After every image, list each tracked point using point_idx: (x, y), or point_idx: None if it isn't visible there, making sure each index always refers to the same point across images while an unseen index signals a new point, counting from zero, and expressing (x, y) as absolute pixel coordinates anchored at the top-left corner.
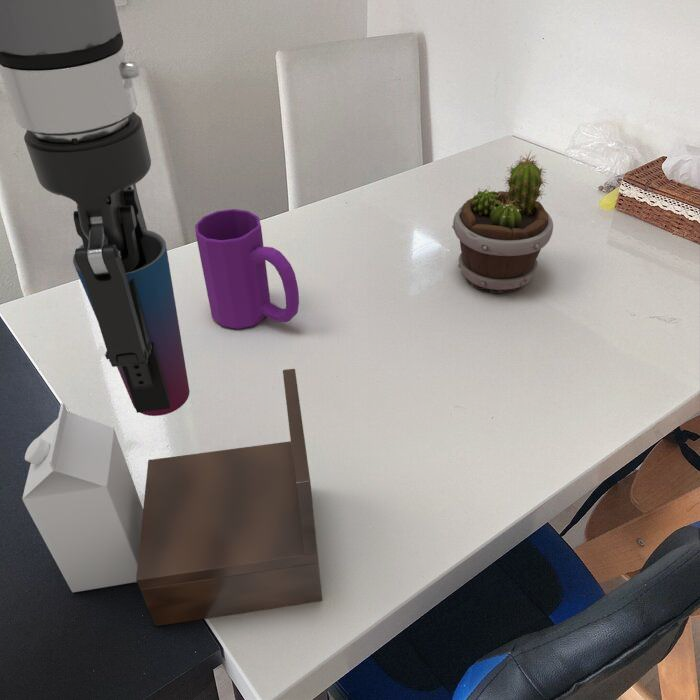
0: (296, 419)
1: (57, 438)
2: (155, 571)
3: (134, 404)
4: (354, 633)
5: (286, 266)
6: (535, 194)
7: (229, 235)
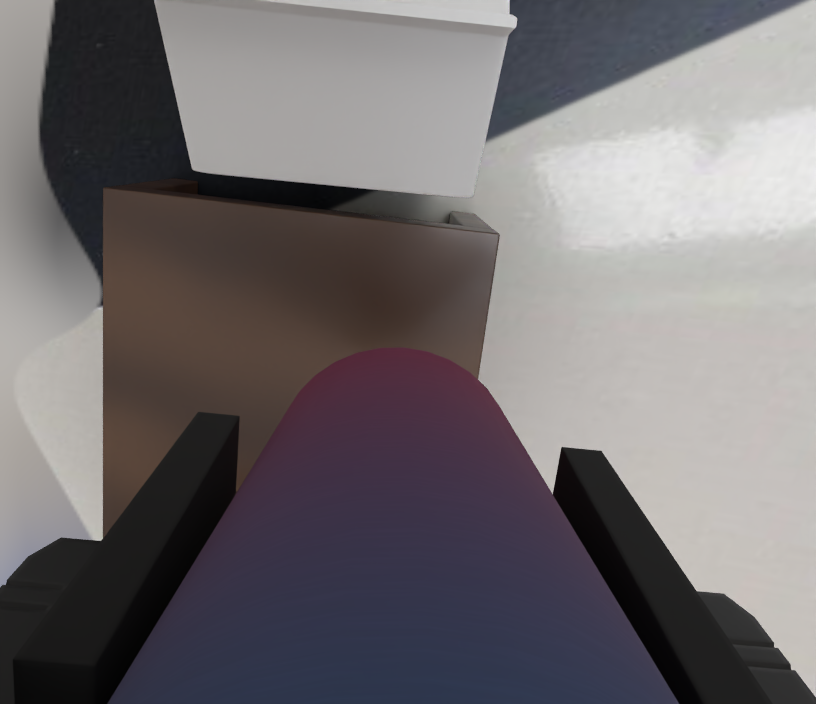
0: None
1: (294, 6)
2: (119, 236)
3: (184, 432)
4: (90, 530)
5: None
6: None
7: None
